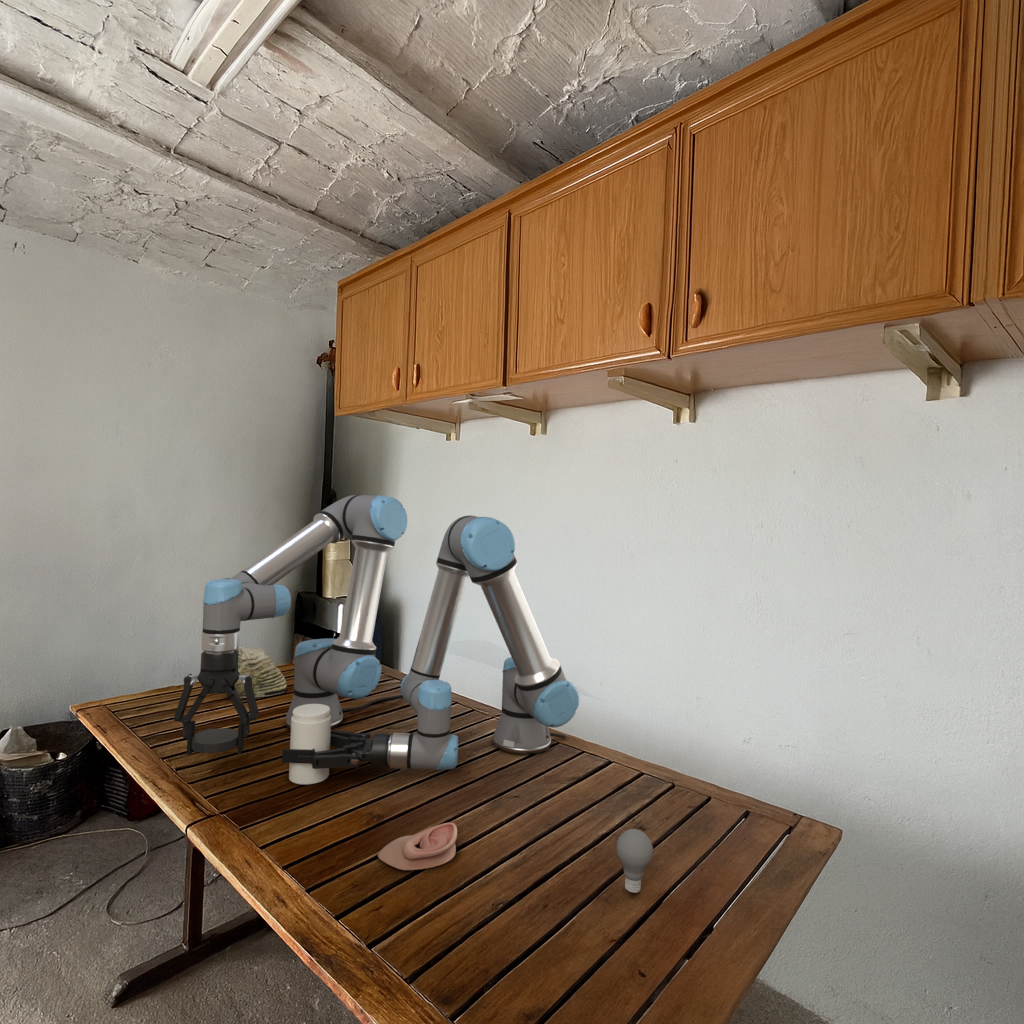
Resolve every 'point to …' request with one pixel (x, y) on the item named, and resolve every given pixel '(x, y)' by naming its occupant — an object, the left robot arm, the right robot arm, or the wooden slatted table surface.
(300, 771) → the jar
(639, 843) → the light bulb
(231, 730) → the lid
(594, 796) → the wooden slatted table surface
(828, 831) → the wooden slatted table surface
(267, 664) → the fossil
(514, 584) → the right robot arm
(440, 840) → the anatomical model
